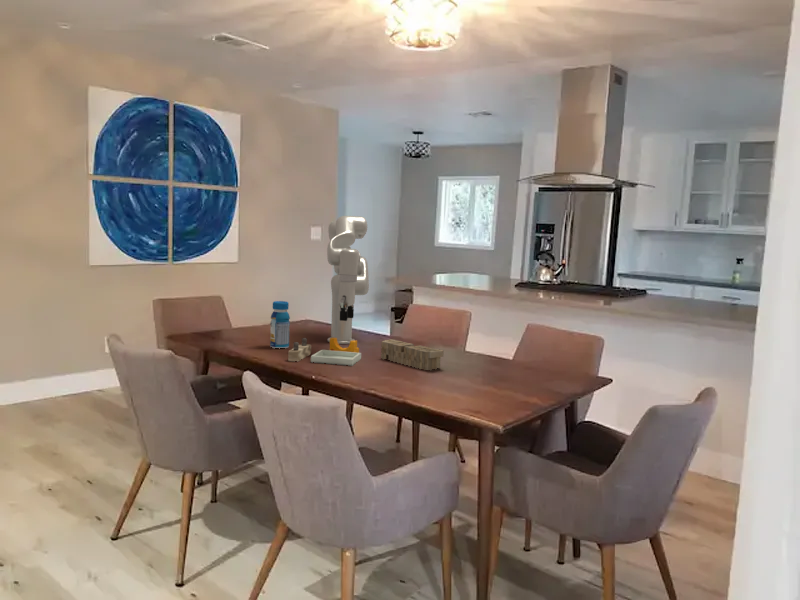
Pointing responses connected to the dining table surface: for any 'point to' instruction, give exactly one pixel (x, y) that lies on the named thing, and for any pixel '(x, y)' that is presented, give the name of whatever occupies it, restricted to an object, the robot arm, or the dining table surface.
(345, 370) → the dining table surface
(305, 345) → the block
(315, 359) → the tray
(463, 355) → the dining table surface
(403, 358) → the block tower
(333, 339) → the pipe clamp
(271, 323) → the beverage bottle
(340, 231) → the robot arm
